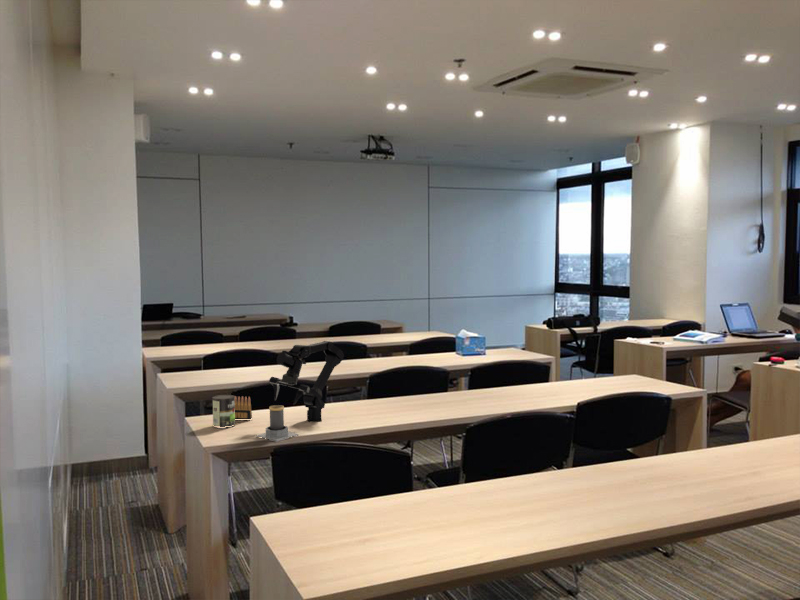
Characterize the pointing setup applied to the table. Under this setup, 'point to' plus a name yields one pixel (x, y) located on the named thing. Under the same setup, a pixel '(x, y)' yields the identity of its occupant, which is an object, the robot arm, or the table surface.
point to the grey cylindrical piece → (276, 417)
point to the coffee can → (223, 410)
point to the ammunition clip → (243, 408)
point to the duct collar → (277, 434)
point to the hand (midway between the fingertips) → (284, 402)
